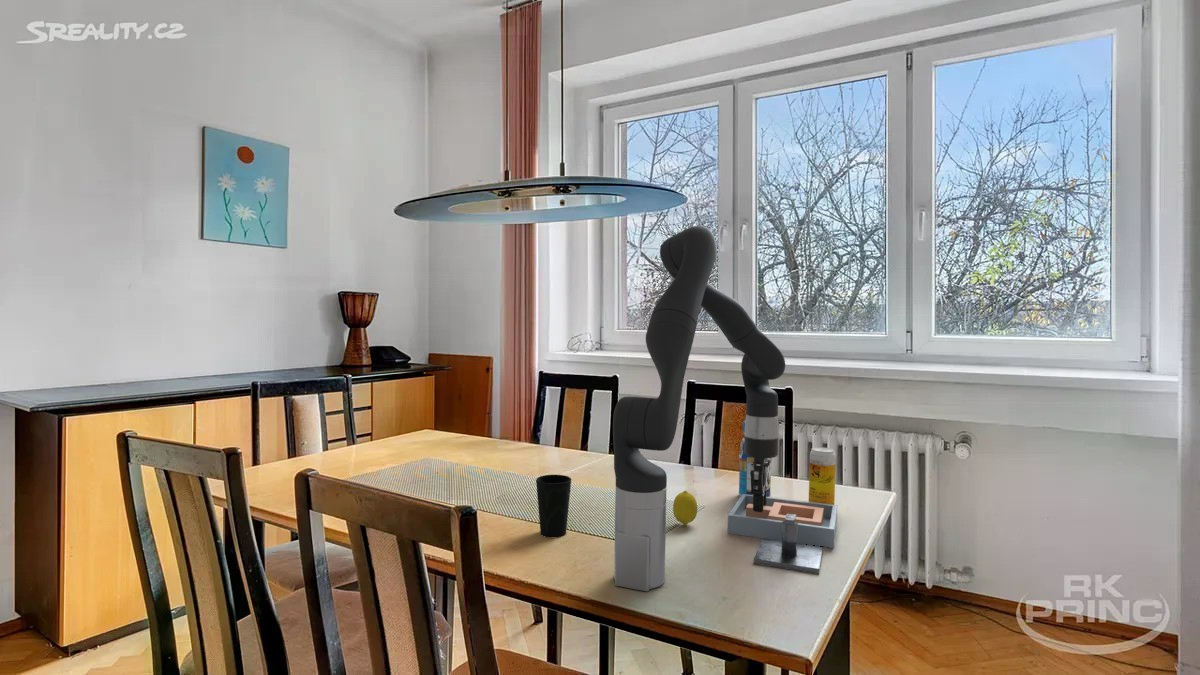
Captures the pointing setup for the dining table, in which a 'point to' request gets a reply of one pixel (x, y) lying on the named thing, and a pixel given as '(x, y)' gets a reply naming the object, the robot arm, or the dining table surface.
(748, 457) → the beverage bottle
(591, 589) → the dining table surface
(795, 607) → the dining table surface
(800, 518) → the tabbed ring
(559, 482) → the cup
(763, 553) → the stand
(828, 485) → the beer can
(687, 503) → the lemon
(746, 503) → the tray
